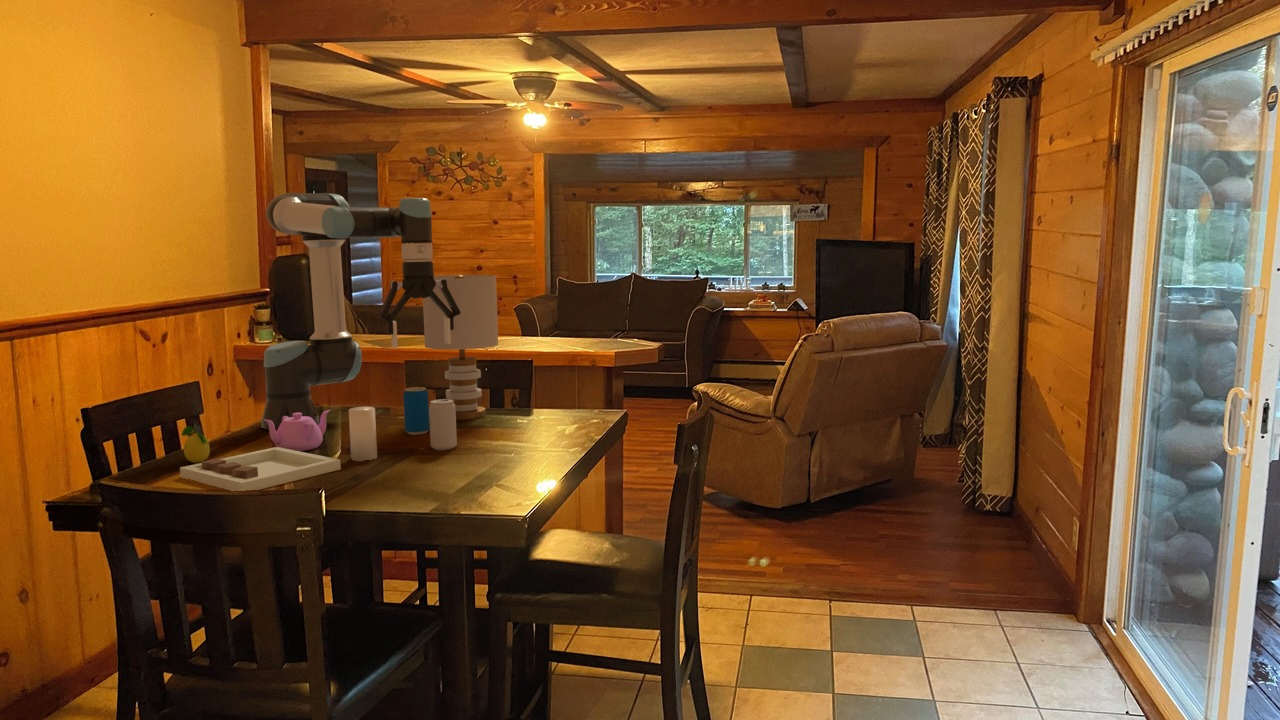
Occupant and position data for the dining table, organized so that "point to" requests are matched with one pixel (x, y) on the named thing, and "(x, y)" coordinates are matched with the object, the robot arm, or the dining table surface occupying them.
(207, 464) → the walnut cube
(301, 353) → the robot arm
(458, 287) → the lamp
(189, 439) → the lemon
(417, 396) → the beverage can
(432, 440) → the beverage can
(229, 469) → the walnut cube
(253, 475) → the walnut cube
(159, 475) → the dining table surface
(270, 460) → the tray
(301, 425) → the teapot
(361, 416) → the white rounded tapered cylinder
